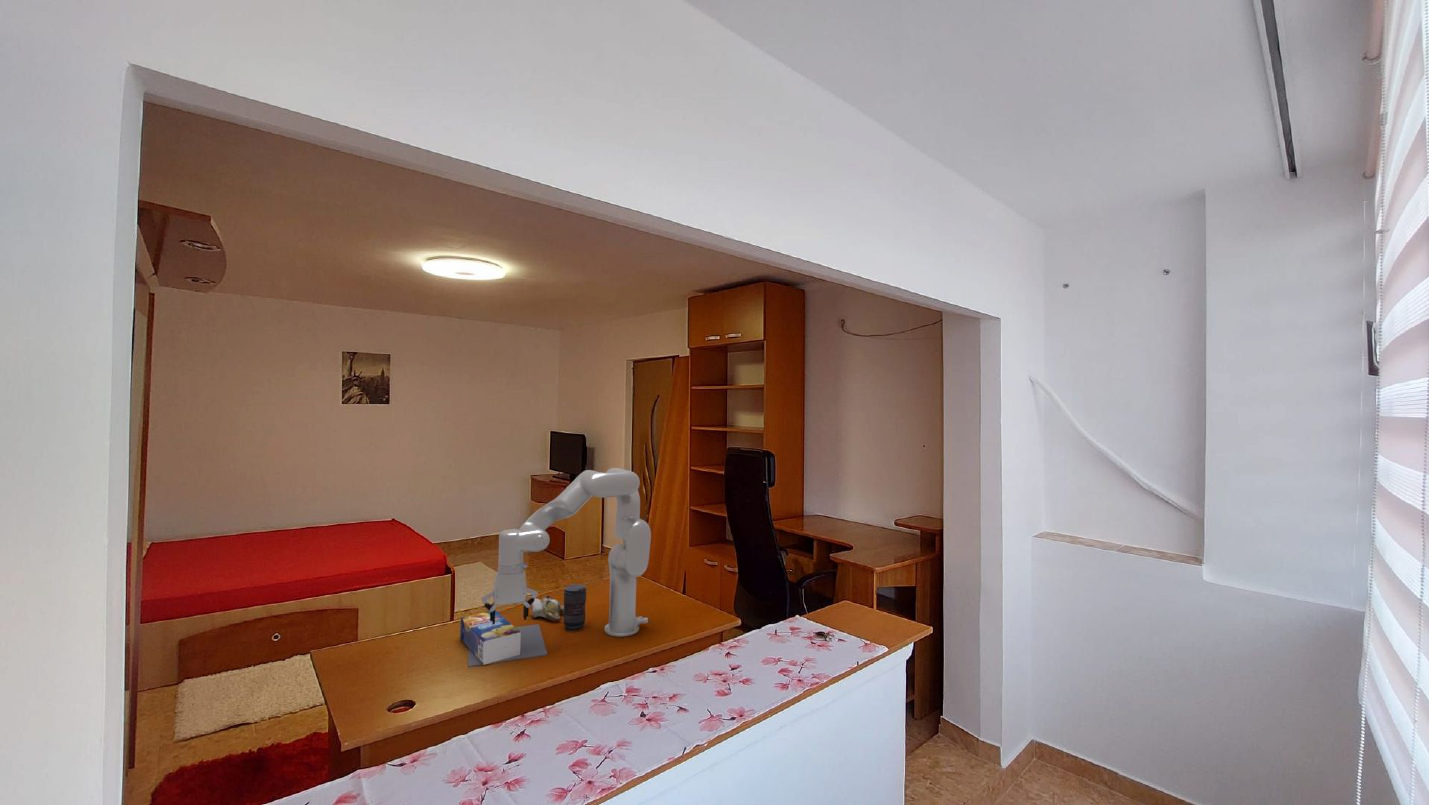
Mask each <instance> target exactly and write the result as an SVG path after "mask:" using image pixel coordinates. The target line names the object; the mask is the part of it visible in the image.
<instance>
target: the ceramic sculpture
mask: <svg viewBox="0 0 1429 805" xmlns="http://www.w3.org/2000/svg"><path fill="white" fill-rule="evenodd" d="M530 609H531V611H532V612H531V614H532V617H533V619H536V618H538V617H541V618H545V619H547V620H551V621H553V622H554V621H555V622H557V621H560V620H562V619H563V618H562V617H561V616H560V615H561V614H563V615H564V605H561V603H560V601H559V600H558V599H555V598H551V596H550V595H547V596H545V597H543V598H542V599H539V598H537V597H536V598H535V601H534V602H533V603H532V604H531V605H530Z"/></svg>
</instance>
